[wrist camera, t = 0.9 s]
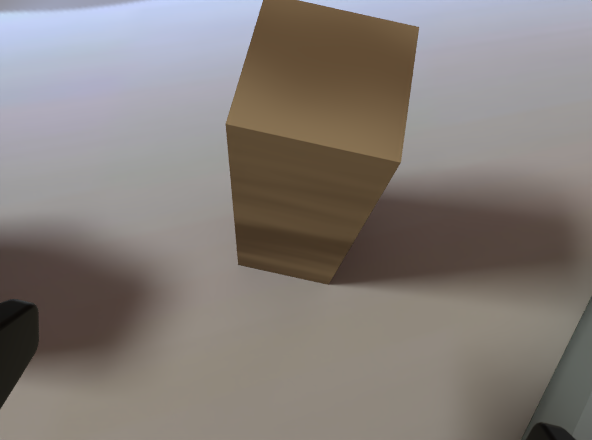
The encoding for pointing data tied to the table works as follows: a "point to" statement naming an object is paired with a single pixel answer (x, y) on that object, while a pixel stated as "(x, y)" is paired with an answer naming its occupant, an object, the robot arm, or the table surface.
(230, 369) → the table surface
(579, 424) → the tray
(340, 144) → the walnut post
